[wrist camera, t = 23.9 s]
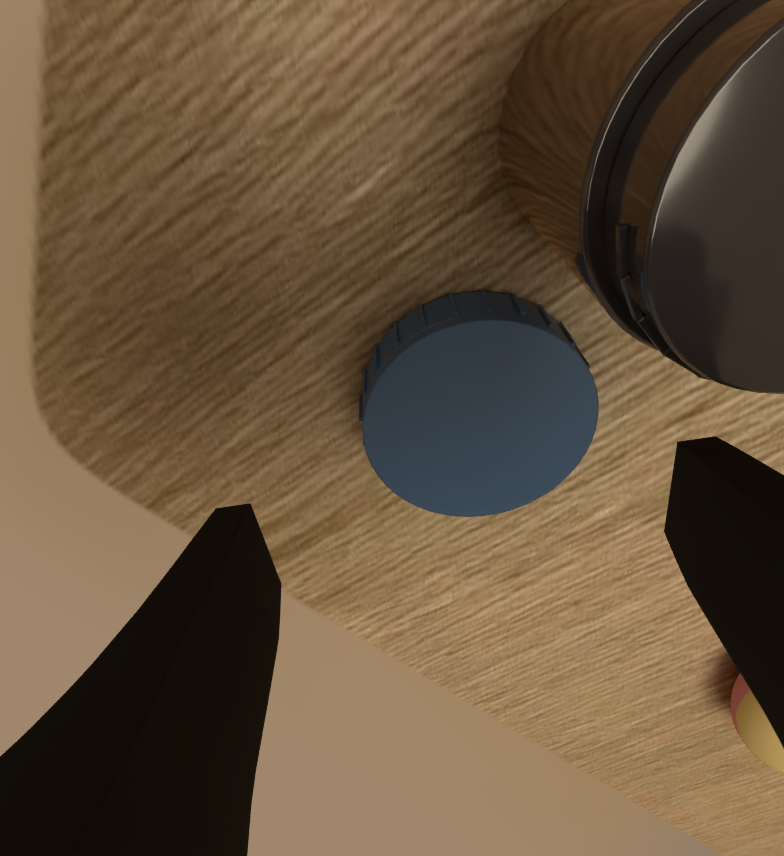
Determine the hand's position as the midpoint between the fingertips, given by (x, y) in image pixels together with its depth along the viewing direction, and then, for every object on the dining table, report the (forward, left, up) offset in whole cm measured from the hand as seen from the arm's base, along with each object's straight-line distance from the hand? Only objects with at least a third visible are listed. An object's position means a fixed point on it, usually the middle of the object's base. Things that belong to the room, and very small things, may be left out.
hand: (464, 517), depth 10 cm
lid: (+1, -1, -5) cm, 6 cm away
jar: (+3, +6, -7) cm, 9 cm away
